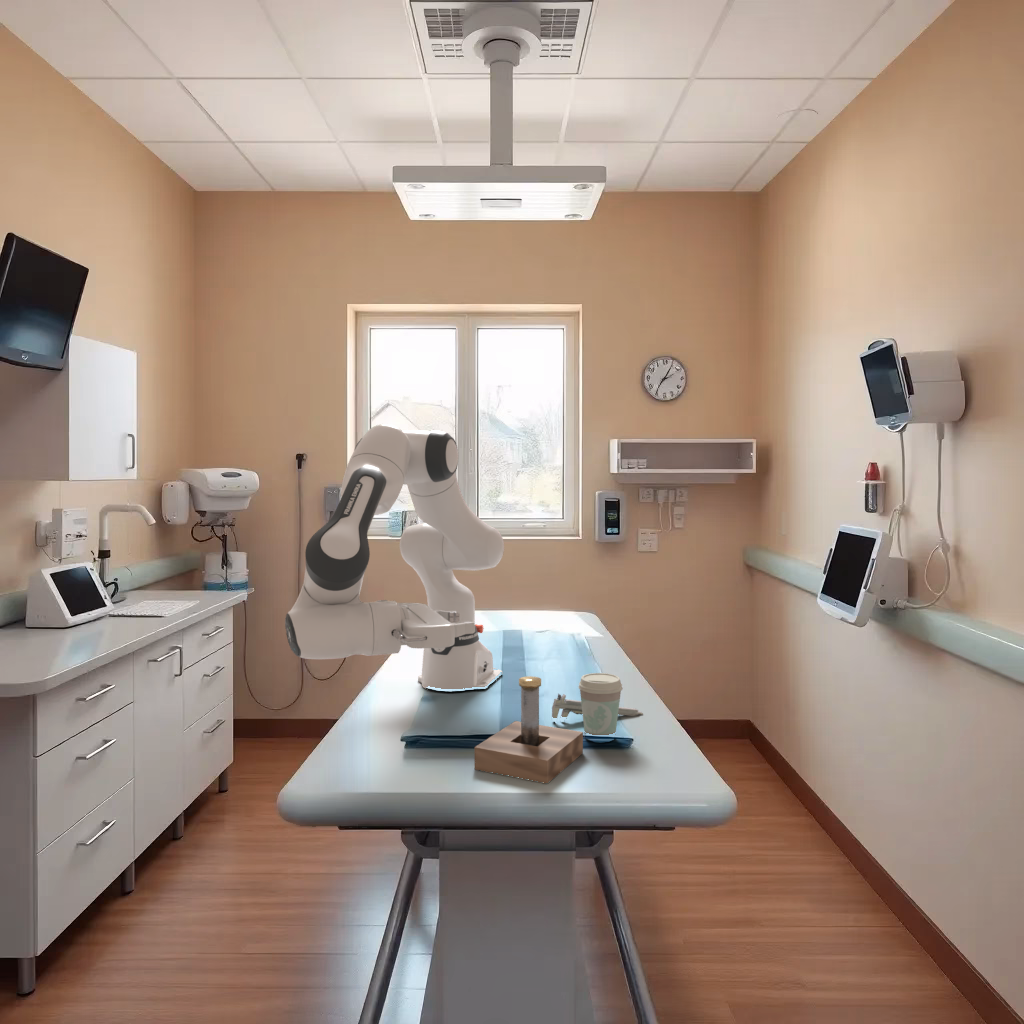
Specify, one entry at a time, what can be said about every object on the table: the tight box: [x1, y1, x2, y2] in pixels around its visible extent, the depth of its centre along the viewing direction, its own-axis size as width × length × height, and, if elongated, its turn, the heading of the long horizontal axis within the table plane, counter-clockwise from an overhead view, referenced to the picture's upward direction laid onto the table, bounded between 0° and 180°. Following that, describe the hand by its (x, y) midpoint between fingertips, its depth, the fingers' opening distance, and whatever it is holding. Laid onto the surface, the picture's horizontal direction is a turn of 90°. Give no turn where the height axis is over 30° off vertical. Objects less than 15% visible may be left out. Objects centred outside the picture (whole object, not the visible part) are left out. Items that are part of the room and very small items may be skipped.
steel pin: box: [518, 675, 542, 747], centre depth 147 cm, size 4×4×15 cm
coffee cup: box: [577, 672, 624, 735], centre depth 159 cm, size 8×8×12 cm
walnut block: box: [473, 720, 584, 784], centre depth 147 cm, size 16×14×4 cm
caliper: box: [551, 693, 644, 719], centre depth 171 cm, size 20×1×6 cm, turn 108°
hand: (465, 621), depth 142 cm, fingers open, 8 cm apart
